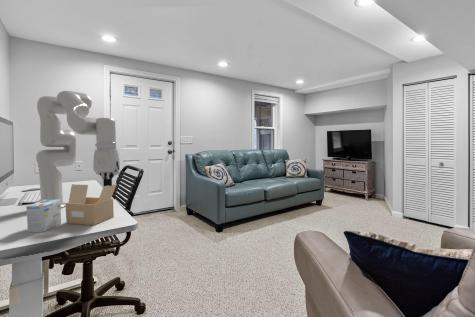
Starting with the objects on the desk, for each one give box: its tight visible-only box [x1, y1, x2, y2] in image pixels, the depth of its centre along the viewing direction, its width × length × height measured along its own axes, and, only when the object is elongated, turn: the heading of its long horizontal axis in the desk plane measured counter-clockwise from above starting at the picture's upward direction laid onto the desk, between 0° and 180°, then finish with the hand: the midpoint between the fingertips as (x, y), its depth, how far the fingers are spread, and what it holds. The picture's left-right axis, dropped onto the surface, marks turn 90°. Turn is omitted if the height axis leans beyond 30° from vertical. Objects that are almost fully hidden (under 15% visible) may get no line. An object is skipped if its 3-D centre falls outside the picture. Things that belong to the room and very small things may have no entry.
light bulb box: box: [25, 199, 62, 233], centre depth 100 cm, size 11×7×11 cm, turn 5°
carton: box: [65, 196, 115, 226], centre depth 110 cm, size 14×13×9 cm
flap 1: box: [68, 183, 89, 204], centre depth 105 cm, size 8×8×1 cm
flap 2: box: [97, 183, 118, 203], centre depth 108 cm, size 8×8×1 cm
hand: (107, 187), depth 107 cm, fingers closed
